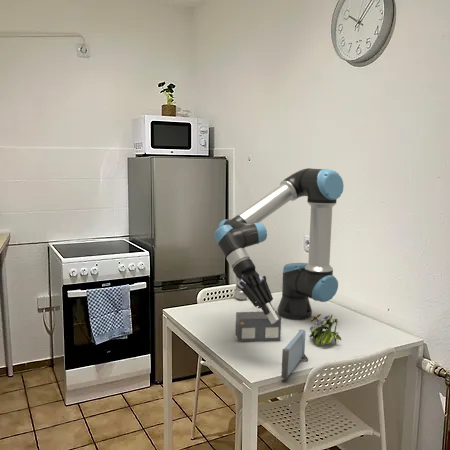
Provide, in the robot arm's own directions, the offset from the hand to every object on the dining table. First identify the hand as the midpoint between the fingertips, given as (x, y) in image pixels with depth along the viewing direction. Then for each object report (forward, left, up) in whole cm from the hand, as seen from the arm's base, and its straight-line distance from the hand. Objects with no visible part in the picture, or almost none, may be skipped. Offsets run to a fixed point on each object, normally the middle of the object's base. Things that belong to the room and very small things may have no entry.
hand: (275, 321), depth 165 cm
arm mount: (-10, -3, -15) cm, 18 cm away
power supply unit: (+1, -24, -15) cm, 28 cm away
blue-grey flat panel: (-5, +5, -14) cm, 15 cm away
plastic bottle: (-1, -74, -15) cm, 75 cm away
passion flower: (-24, -18, -15) cm, 34 cm away
